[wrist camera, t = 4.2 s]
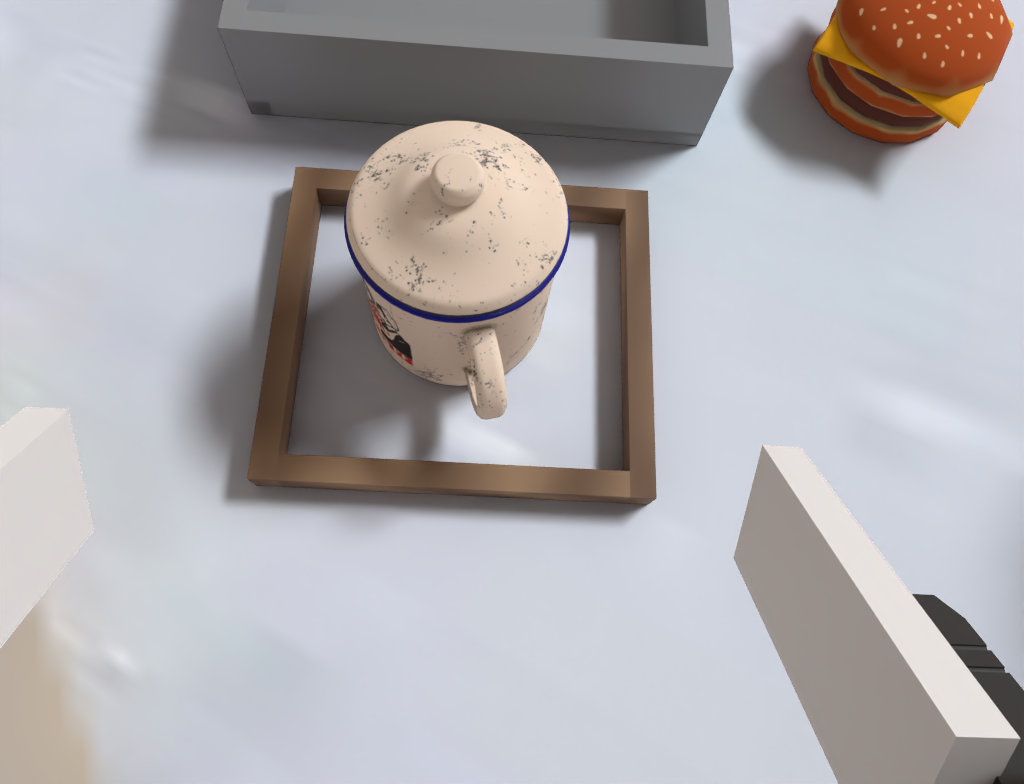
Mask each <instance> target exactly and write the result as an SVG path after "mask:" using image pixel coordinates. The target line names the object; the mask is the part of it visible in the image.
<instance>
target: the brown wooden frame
mask: <svg viewBox="0 0 1024 784" xmlns="http://www.w3.org/2000/svg"><path fill="white" fill-rule="evenodd" d="M358 173H359V171H351V170H337V169H322V168H308V167H296V169H295V176H294V182H293V188H292V195H291V201H290V208H289V214H288V221H287V227H286V233H285V240H284V246H283V253H282V259H281V265H280V272H279V278H278V285H277V291H276V297H275V304H274V310H273V317H272V323H271V329H270V336H269V342H268V349H267V355H266V361H265V368H264V374H263V381H262V387H261V394H260V400H259V406H258V413H257V419H256V426H255V432H254V438H253V445H252V451H251V458H250V464H249V470H248V477H247V479H249V480H250V481H251V482H252V483H254V484H255V485H258V486H279V487H300V488H321V489H341V490H362V491H383V492H404V493H425V494H445V495H466V496H487V497H508V498H529V499H549V500H570V501H591V502H612V503H633V504H650V503H651V502H652V501H653V500H655V499H656V468H655V433H654V397H653V361H652V325H651V290H650V254H649V218H648V191H642V190H627V189H613V188H598V187H584V186H569V185H561V187H562V189H563V192H564V195H565V198H566V201H567V205H568V209H569V216H570V221H576V222H591V223H606V224H620V275H621V351H622V426H623V471H614V470H594V469H575V468H555V467H535V466H515V465H495V464H475V463H455V462H435V461H415V460H395V459H375V458H355V457H335V456H315V455H296V454H287V450H288V443H289V436H290V428H291V421H292V414H293V407H294V400H295V393H296V386H297V378H298V371H299V364H300V357H301V350H302V343H303V335H304V328H305V321H306V314H307V307H308V300H309V292H310V285H311V278H312V271H313V264H314V257H315V250H316V242H317V235H318V228H319V221H320V214H321V207H322V205H335V206H346V203H347V198H348V195H349V193H350V190H351V187H352V184H353V182H354V180H355V178H356V176H357V174H358Z"/></svg>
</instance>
